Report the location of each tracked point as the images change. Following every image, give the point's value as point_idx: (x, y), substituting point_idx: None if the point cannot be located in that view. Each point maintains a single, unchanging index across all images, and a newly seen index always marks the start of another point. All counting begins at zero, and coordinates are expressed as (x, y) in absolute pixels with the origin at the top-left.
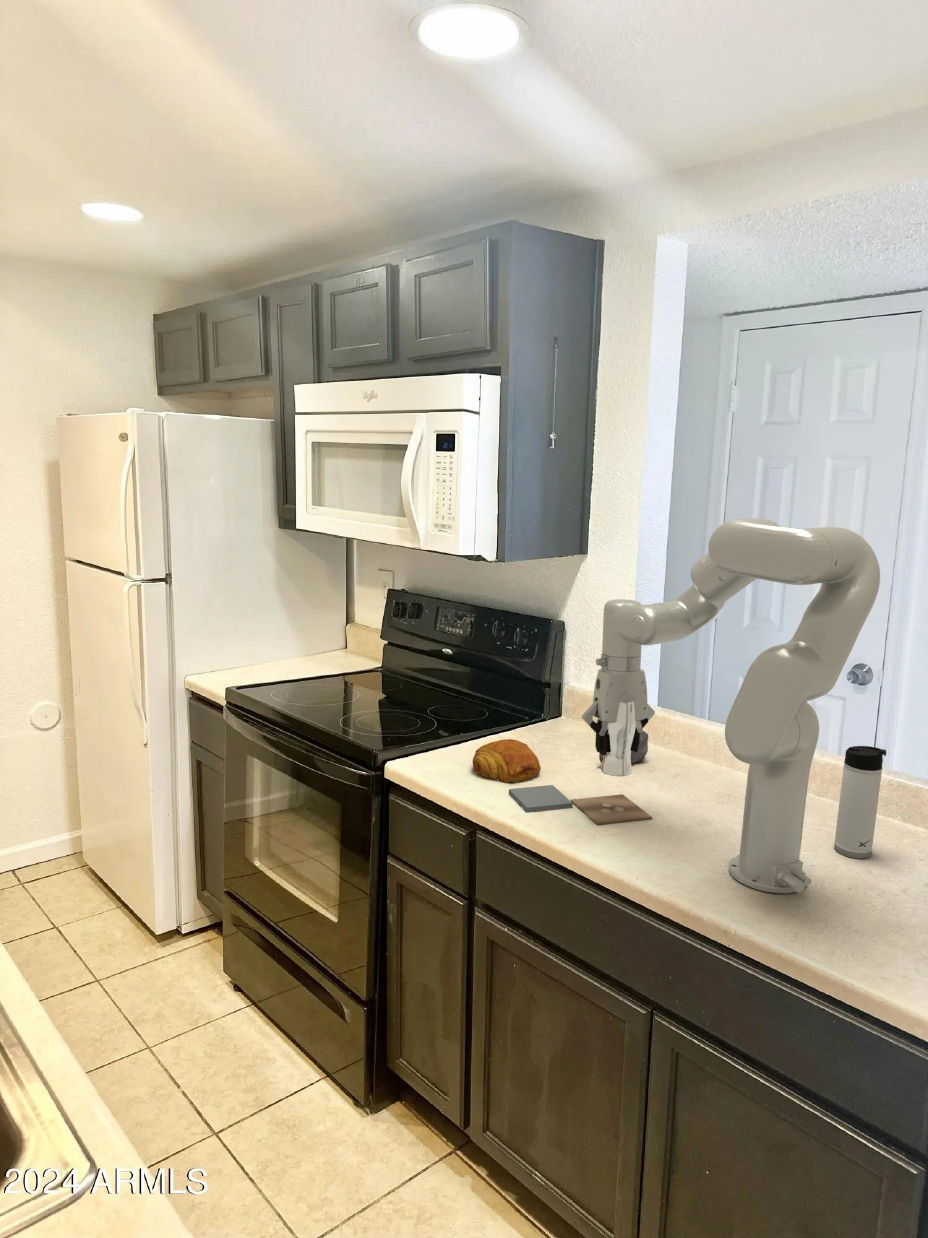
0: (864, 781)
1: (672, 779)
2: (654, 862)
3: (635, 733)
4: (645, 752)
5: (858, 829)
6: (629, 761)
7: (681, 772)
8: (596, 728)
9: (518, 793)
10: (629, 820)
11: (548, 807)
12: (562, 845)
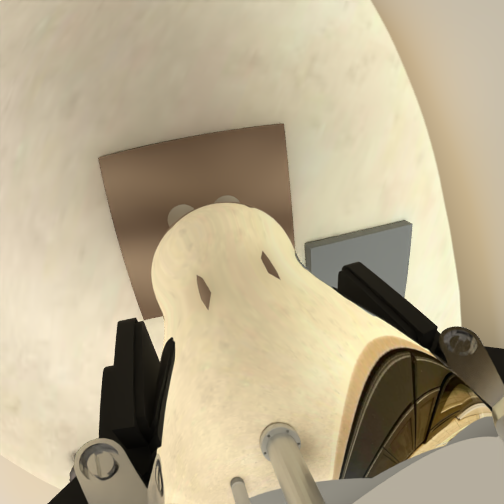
0: None
1: (20, 393)
2: None
3: (142, 431)
4: (74, 470)
5: None
6: (179, 261)
7: (8, 416)
8: (497, 360)
9: None
10: (176, 139)
11: (367, 232)
12: (390, 45)
